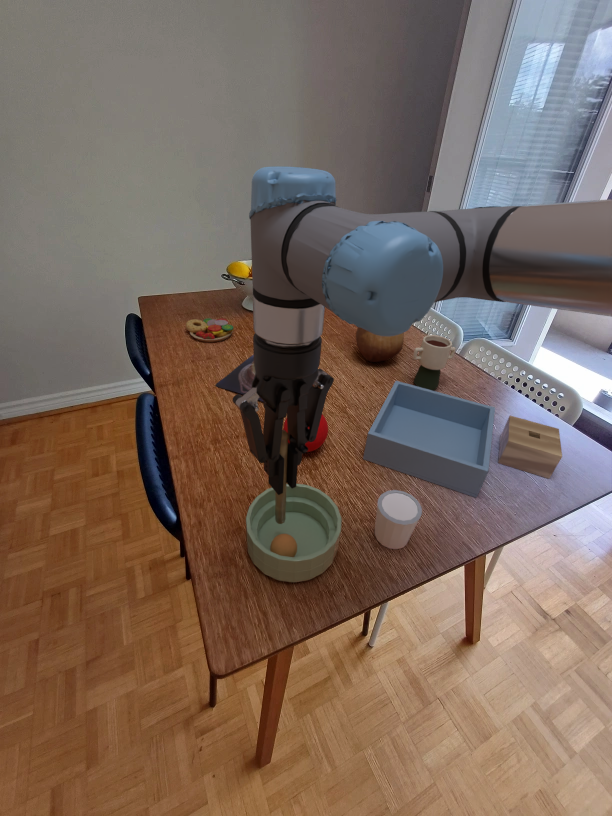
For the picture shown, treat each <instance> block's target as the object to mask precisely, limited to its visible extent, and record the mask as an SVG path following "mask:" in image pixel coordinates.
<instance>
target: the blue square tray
mask: <svg viewBox="0 0 612 816" xmlns="http://www.w3.org/2000/svg"><path fill="white" fill-rule="evenodd" d="M495 415H496V407H495V406H492V405H487V404H485V403H480V402H477V401H472V400H469V399H465V398H462V397H458V396H454V395H451V394H447V393H443V392H439V391H436V390H429V389H425V388H421V387H418V386H417V385H413V384H410V383H406V382H402V381H399V380H395V381H394V383H393V385H392V387H391V389H390V390H389V392H388V395H387V396H386V399H385V400H384V402H383V404H382V406H381V407H380V409H379V412H378V413H377V415H376V417H375V419H374V421H373V423H372V424H371V427H370V428H369V430H368V433H367V436H366V441H365V445H364V451H363V456H362V460H364V461H367V462H369V463H372V464H375V465H379V466H382V467H385V468H388V469H390V470H394V471H396V472H400V473H402V474H405V475H408V476H411V477H413V478H417V479H420V480H423V481H426V482H429V483H431V484H433V485H437V486H440V487H444V488H446V489H449V490H451V491H454V492H458V493H461V494H464V495H467V496H470V497H472V498H475V499H476V498H478V496H479V494H480V491H481V489H482V487H483V485H484V482H485V480H486V479H487V475H488V474H489V470H490V461H491V451H492V443H493V431H494V423H495V422H494V421H495Z"/></svg>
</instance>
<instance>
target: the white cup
mask: <svg viewBox="0 0 612 816" xmlns="http://www.w3.org/2000/svg"><path fill="white" fill-rule="evenodd" d="M421 505H422V504H420V501H419V500H418V499H416V497H414V496H413V494H410V493H408V492H406V491H403V490H399V489H391V490H386V491H385V492H383V493H381V494H380V496H379V497H378V499H377V505H376V515H375V524H374V536H375V539H376V541H378V542H379V543H380V545H382V546H384V547H386V548H387V549H392V550H400V549H402V548H404V547H406V546H407V545H408V542H409V541H410V538H411V537H412V534H413V532H414V530H415V529H416V526H417V525H418V522H419V521H420V519H421V516H422V515H423V508H422V506H421Z"/></svg>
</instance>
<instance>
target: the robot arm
mask: <svg viewBox="0 0 612 816" xmlns="http://www.w3.org/2000/svg"><path fill="white" fill-rule="evenodd" d="M336 191H337V189H336V179H335V177H334V176H333V174H332V173H330V172H329V171H327V170H323V169H317V168H310V167H299V166H281V165H279V166H278V165H277V166H265V167H260V168H259V169H257V170H256V171H255V172H254V174H253V176H252V178H251V191H250V192H251V193H250V195H251V196H250V210H249V213H248V218H249V221H250V222H249V223H250V247H251V248H250V249H251V273H252V274H251V281H252V329H253V331H254V334H253V336H252V345H253V346H252V347H253V350H252V351H253V352H252V353H253V354H252V355H254V367H255V377H254V379H253V381H252V389H251V390H249V391H248V392H247V393H246V394H245V395H243V394H240V393H237V394H236V395H234V396H233V397H232V403H233V404H234V405H235V407H237V409H238V410H239V413H240V416H241V420H242V424H243V425H242V426H243V428H244V433H245V436H246V441H247V446H248V450H249V452H250V453H251V454H252V455H253V457H254V458H255V459H256V460H257V461H258V463H260V464H263V471H264V472H265V473H266V474H267V476H268V481H267V482H268V485H270V488H273V489H274V490H275V492H276V493H277V494H278V495H280V494H282V493H283V481H284V458H283V457H282V456H281V455H280V446H281V437H282V430H283V427H284V421H285V420H284V419H286V418H287V429H288V440H289V441H290V444H289V443H288V453H287V484H288V485H289V486H290V487H291V488H292V489H293V488H295V487H296V484H298V483H297V482H298V466H300V465H301V464H302V462H303V461H302V460H303V455H304V454H306V453H308V452H307V451H308V447H307V446H306V445H305V444H306V443H307V442H308V441H309V442H313V441H314V440H315V439H316V436H317V432H318V428H319V424H320V420H321V416H322V414H323V412H324V407H325V404H326V400H327V397H328V393H329V391H330V389H331V387H332V386H333V384H334V381H335V378H334V377H333V376H332V375H331V374H329V373H328V372H326V371H325V370H323V369H322V368H320V365H321V354H322V343H323V339H322V337H321V336H323V332H324V325H325V314H326V313H325V312H326V309H327V310H329V311H330V312H331V313H333V314H334V315H335V316H337V317H338V318H339V319H340V320H341V321H345V323H347V324H349V325H354V326H355V327H357V328H358V327H361V328H363V329H365V330H367V331H369V332H371V333H373V334H375V335H379V336H395V335H399V334H402V333H404V334H405V333H406V332H408V331H409V330H410V329H411V326H412V325H413V324H415V323H416V322H417V323H418V322H420V321H422V320H423V319H424V318H425V317H426V315H428V313H429V312H430V310H431V309H432V307H433V305H434V303H435V304H436V303H438V302H442V301H443V302H444V301H447V300H453V299H459V298H466V299H467V298H468V299H476V300H483V301H490V302H499V303H510V304H517V305H526V306H531V307H533V306H534V307H540V308H546V309H553V310H561V311H567V312H573V313H574V312H575V313H583V314H589V315H596V316H603V317H612V198H611V199H610V198H609V199H596V200H582V201H581V200H580V201H579V200H578V201H567V202H565V201H564V202H550V203H535V204H526V205H507V206H506V205H505V206H501V205H491V206H490V205H487V206H477V207H472V208H459V209H450V210H448V209H447V210H438V211H437V210H429V211H410V212H393V213H374V214H373V213H372V214H371V213H362V212H359V211H354V210H350V209H346V208H343V207H340V206H338V205H337V192H336ZM259 397H260V398H262V399H263V401H262V402H263V403H262V405H263V408H264V417H263V427H262V424H261V419H260V415H259V414H258V412H259V411H260V408H259V400H258V399H259ZM308 427H309V429H308ZM262 428H263V429H262Z"/></svg>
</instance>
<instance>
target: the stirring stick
mask: <svg viewBox="0 0 612 816" xmlns="http://www.w3.org/2000/svg"><path fill="white" fill-rule="evenodd" d="M287 453H288V433H287V432H286V431H285V430H283V429H282V437H281V446H280V455H281V456H282V457H283V458H284V481H283V493H282V494H280V495H278V494H277V493H276V492H275V521H276V522H277V523H278V524H283V523H284V522H285V519H286V487H287Z"/></svg>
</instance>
